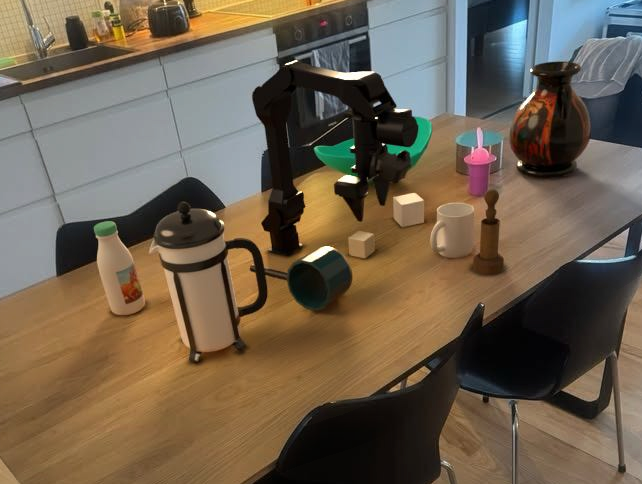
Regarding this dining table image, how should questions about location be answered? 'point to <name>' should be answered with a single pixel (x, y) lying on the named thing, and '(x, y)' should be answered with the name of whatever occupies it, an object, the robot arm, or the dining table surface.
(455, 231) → the mug
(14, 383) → the dining table surface
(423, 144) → the table top decor
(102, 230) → the milk bottle
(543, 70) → the amphora vase
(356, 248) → the block
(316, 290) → the saucepan
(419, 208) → the white cube
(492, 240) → the mortar and pestle
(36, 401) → the dining table surface
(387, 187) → the robot arm
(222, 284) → the coffee press
